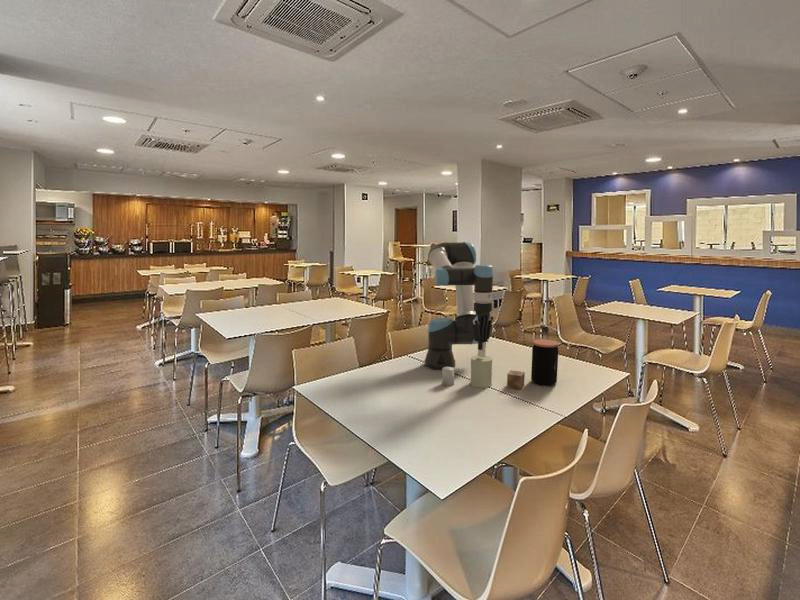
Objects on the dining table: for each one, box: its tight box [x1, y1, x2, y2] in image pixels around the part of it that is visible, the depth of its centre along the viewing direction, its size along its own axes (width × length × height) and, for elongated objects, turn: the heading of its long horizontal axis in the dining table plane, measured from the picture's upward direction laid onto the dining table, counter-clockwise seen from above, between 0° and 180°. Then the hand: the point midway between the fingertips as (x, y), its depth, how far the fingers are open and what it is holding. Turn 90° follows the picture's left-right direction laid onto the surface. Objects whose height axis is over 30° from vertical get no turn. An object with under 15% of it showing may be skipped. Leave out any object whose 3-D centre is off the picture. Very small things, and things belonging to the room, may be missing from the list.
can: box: [469, 354, 493, 389], centre depth 185 cm, size 9×9×12 cm
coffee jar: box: [530, 338, 560, 387], centre depth 186 cm, size 11×11×18 cm
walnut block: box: [506, 369, 526, 391], centre depth 182 cm, size 6×6×6 cm
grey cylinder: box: [441, 367, 455, 387], centre depth 185 cm, size 5×5×7 cm
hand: (481, 356), depth 184 cm, fingers closed
